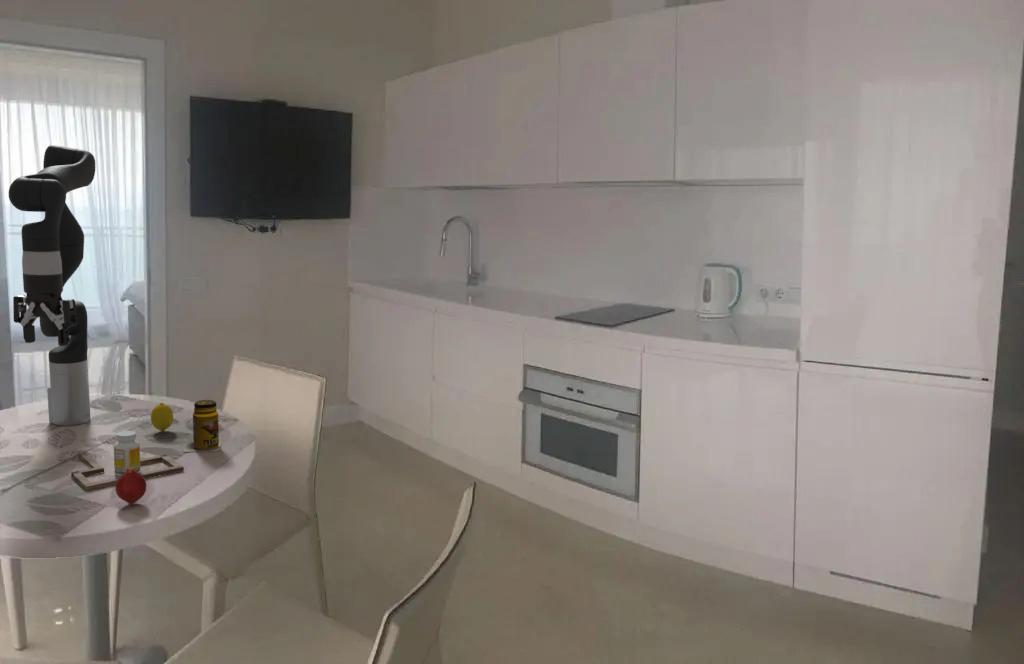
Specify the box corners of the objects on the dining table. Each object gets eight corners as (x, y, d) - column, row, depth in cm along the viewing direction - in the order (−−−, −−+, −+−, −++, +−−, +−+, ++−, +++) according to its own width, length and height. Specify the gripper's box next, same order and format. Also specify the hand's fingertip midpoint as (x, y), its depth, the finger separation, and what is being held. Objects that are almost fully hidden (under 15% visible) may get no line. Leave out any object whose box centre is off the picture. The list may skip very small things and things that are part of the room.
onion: (123, 498, 172) (121, 462, 171) (151, 498, 173) (149, 462, 171) (112, 509, 166) (110, 472, 165) (141, 509, 167) (139, 472, 166)
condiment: (218, 451, 204) (217, 405, 202) (182, 452, 202) (181, 406, 200) (222, 442, 211) (221, 397, 209) (187, 443, 209) (186, 398, 207)
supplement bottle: (114, 478, 183) (112, 437, 181) (115, 470, 188) (113, 430, 186) (140, 475, 185) (139, 435, 184) (140, 468, 190) (139, 428, 188)
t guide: (55, 461, 192) (55, 457, 192) (147, 445, 206) (147, 441, 206) (86, 490, 175) (86, 486, 175) (183, 470, 190) (183, 466, 189)
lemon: (177, 429, 220) (176, 400, 219) (167, 435, 215) (166, 406, 213) (158, 428, 221) (157, 399, 219) (147, 433, 215) (146, 404, 214)
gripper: (83, 271, 180) (86, 343, 183) (28, 267, 182) (32, 338, 185) (57, 275, 172) (61, 349, 175) (0, 270, 175) (5, 344, 178)
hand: (46, 343), depth 180 cm, fingers open, 8 cm apart
